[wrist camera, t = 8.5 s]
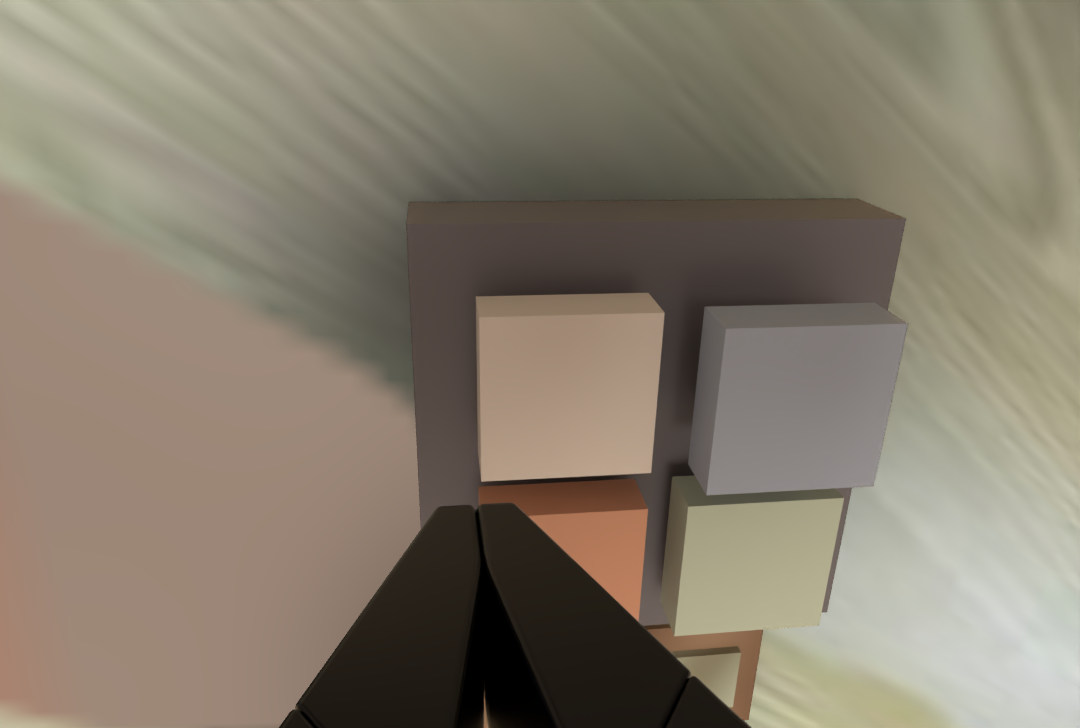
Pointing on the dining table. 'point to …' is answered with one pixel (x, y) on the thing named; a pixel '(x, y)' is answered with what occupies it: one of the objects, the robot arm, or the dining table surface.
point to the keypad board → (621, 267)
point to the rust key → (589, 527)
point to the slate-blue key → (793, 396)
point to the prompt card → (715, 662)
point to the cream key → (567, 384)
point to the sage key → (747, 558)
